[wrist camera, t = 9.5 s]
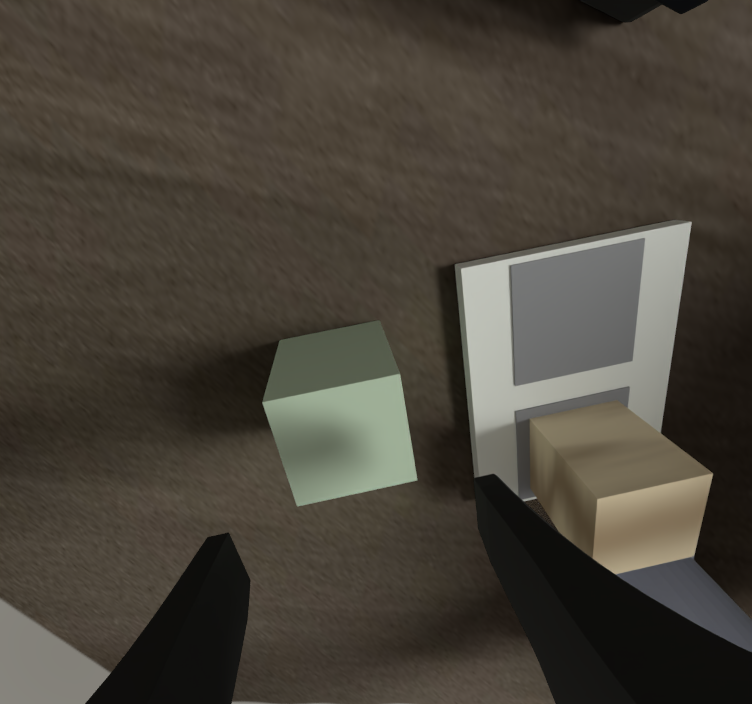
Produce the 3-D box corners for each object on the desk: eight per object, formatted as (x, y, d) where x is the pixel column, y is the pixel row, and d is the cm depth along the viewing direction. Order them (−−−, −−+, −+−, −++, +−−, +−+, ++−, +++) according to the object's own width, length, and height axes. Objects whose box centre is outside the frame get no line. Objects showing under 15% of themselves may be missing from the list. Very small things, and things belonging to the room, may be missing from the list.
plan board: (643, 461, 26) (656, 473, 25) (476, 498, 25) (482, 512, 24) (674, 219, 20) (693, 222, 19) (454, 264, 19) (461, 269, 18)
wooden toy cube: (610, 470, 24) (694, 556, 19) (530, 488, 24) (590, 579, 19) (617, 400, 22) (713, 473, 17) (529, 418, 22) (597, 499, 16)
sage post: (394, 404, 22) (417, 480, 16) (304, 423, 22) (297, 506, 16) (379, 319, 20) (399, 373, 14) (279, 339, 20) (262, 402, 14)
